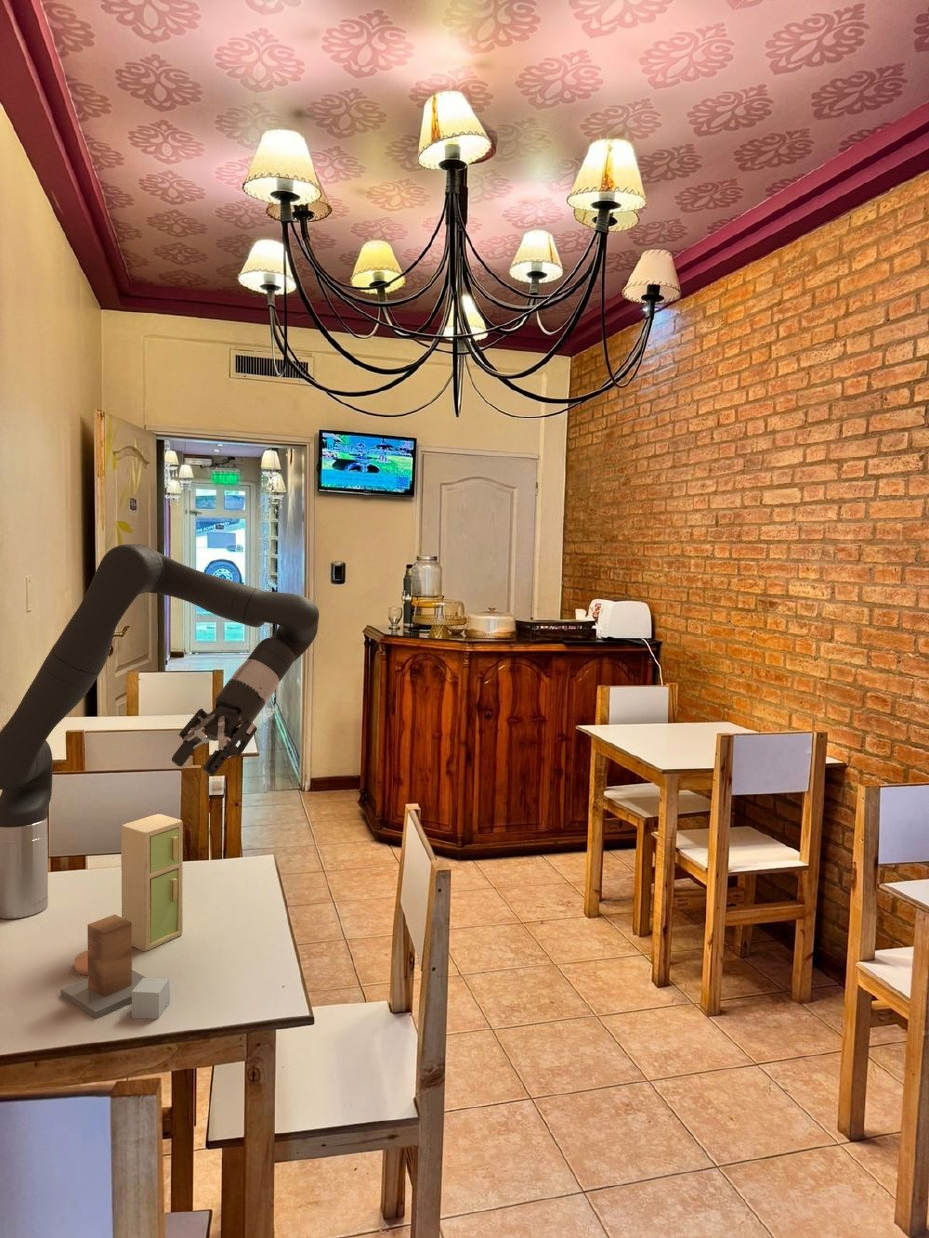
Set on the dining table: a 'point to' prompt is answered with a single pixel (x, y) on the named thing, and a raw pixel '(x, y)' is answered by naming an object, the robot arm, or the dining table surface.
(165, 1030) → the dining table surface
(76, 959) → the orange disc
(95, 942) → the walnut block
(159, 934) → the toy refrigerator
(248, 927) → the dining table surface
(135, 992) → the grey cube
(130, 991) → the slate coaster
